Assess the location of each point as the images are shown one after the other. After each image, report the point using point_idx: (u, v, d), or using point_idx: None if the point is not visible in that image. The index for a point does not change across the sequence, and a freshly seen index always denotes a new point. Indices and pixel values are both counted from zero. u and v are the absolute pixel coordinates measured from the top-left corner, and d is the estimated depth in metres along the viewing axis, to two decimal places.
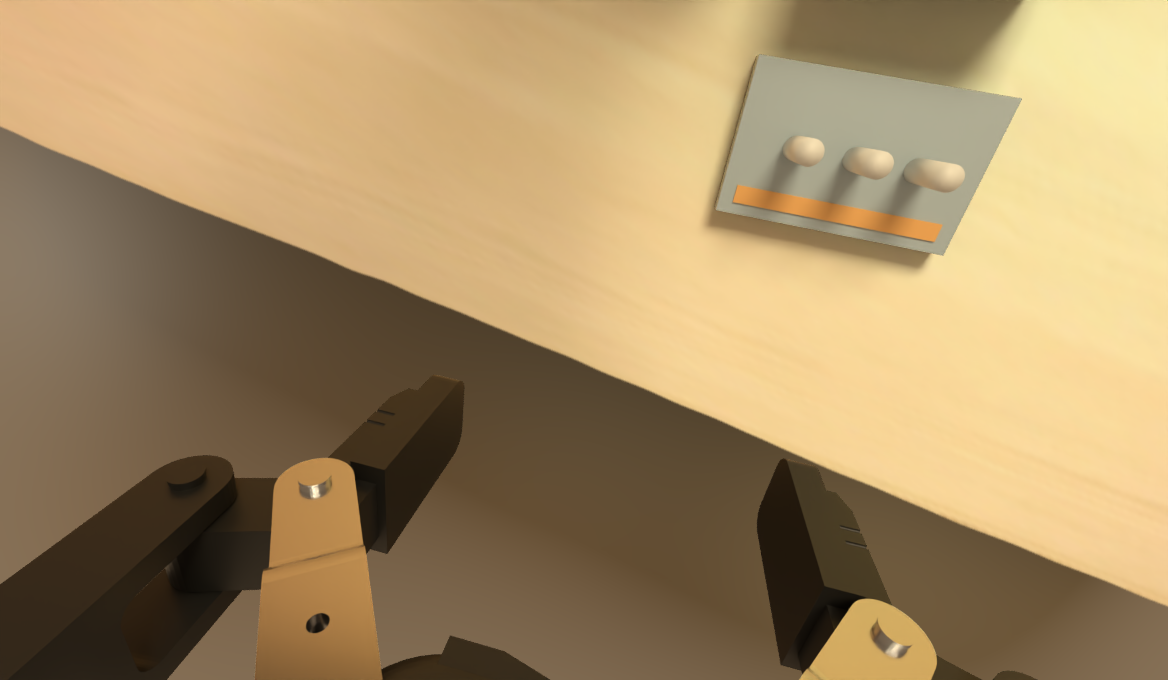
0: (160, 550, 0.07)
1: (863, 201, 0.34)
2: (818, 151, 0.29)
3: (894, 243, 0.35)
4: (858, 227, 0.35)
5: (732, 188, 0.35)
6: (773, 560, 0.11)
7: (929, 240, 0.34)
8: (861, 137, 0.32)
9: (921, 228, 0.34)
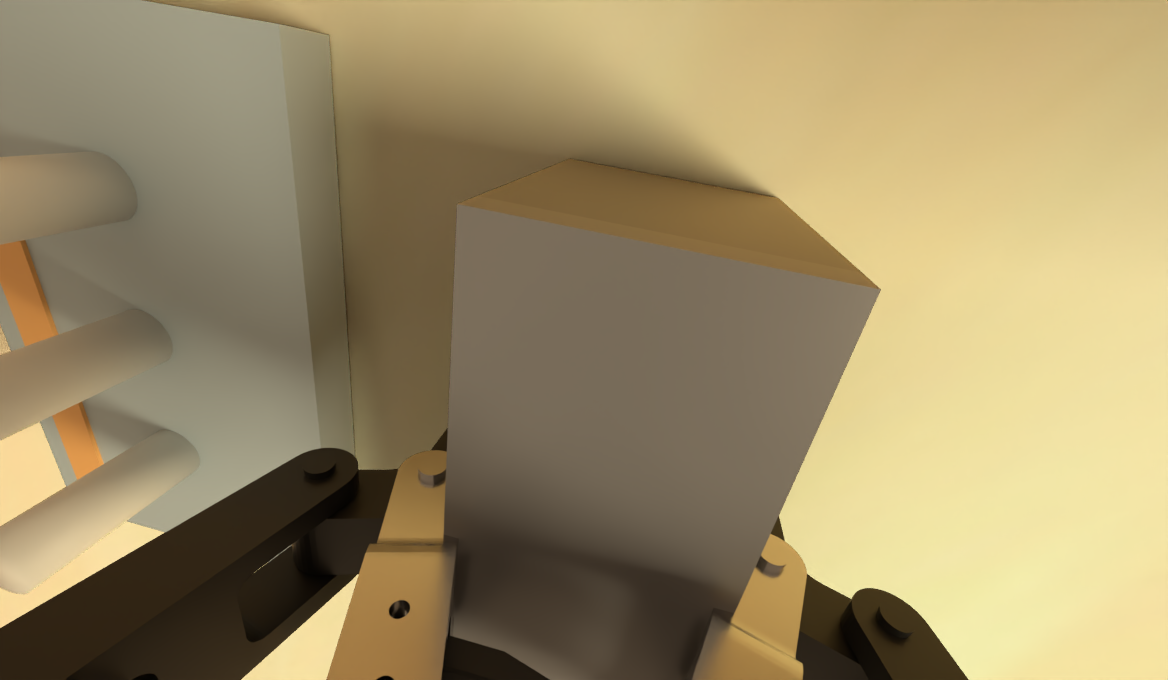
0: (281, 534, 0.07)
1: None
2: None
3: (47, 430, 0.16)
4: None
5: None
6: None
7: None
8: (189, 343, 0.13)
9: (94, 470, 0.16)
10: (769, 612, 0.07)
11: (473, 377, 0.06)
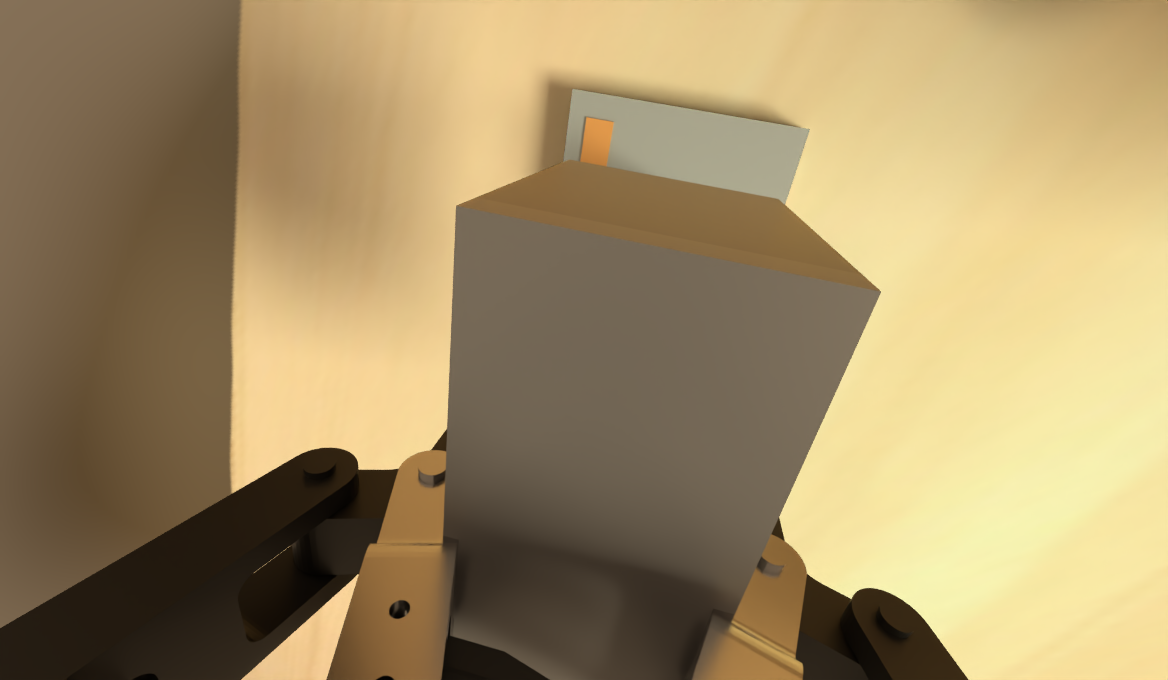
0: (281, 534, 0.07)
1: None
2: None
3: None
4: None
5: (608, 113, 0.21)
6: None
7: None
8: None
9: None
10: (769, 612, 0.07)
11: (473, 379, 0.06)
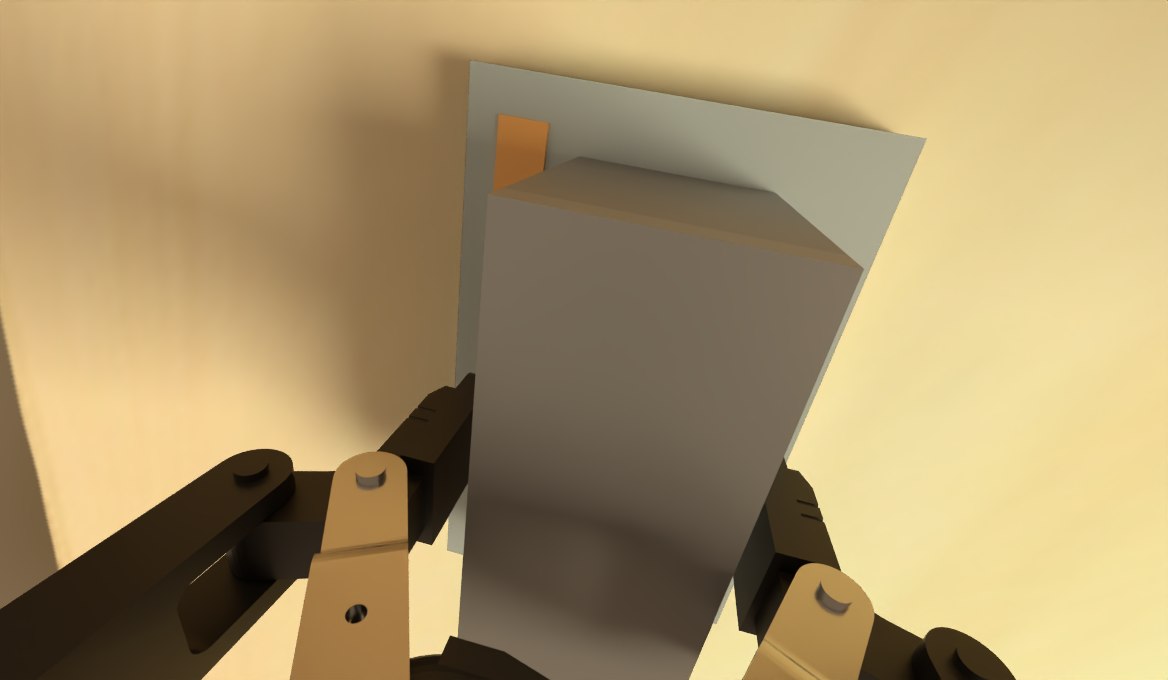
0: (218, 539, 0.07)
1: None
2: None
3: None
4: None
5: (538, 106, 0.11)
6: None
7: None
8: None
9: None
10: (827, 648, 0.07)
11: (498, 352, 0.07)
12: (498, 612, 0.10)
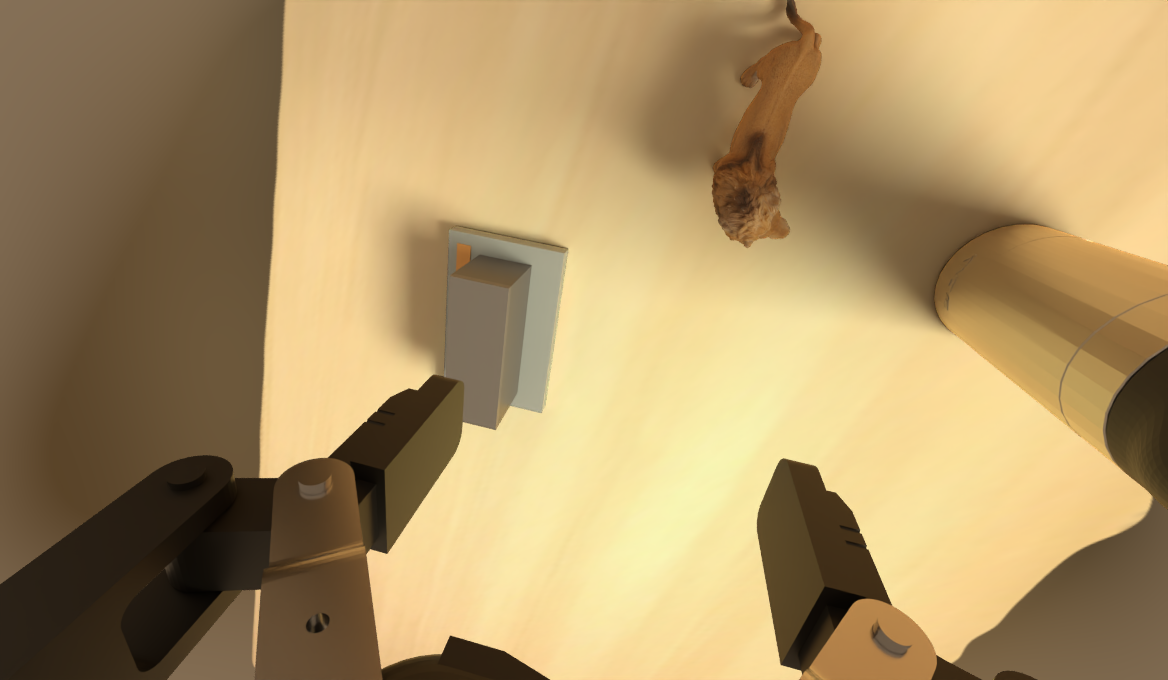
0: (160, 550, 0.07)
1: None
2: None
3: None
4: None
5: (467, 241, 0.41)
6: (773, 560, 0.11)
7: None
8: None
9: None
10: None
11: (452, 303, 0.37)
12: (455, 369, 0.40)
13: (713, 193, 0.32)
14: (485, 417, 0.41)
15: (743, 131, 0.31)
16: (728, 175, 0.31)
